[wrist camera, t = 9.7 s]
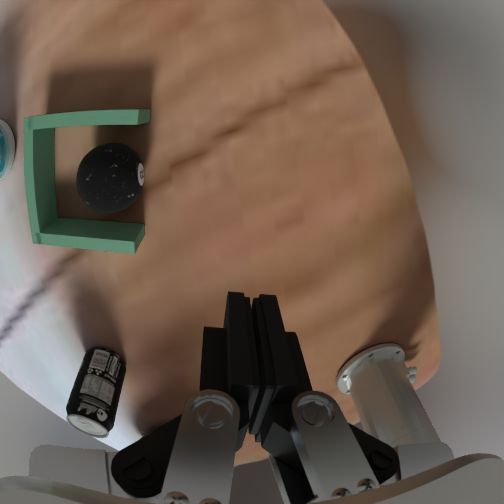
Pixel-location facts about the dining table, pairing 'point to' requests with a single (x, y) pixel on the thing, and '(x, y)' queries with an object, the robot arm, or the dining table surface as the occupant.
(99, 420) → the beverage can
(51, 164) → the pocket
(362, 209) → the dining table surface
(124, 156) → the billiard ball
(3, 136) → the pill bottle
